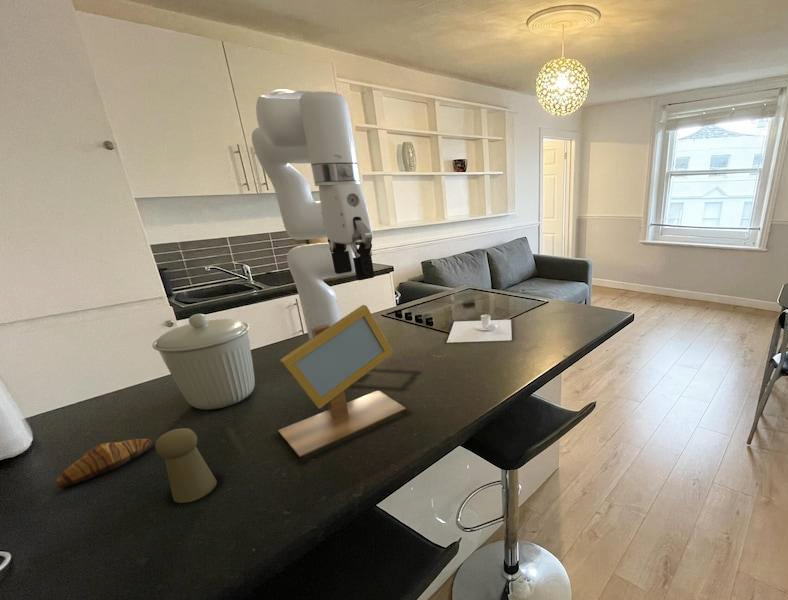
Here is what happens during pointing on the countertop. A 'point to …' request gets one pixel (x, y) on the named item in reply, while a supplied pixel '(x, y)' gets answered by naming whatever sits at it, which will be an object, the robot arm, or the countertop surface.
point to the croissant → (102, 460)
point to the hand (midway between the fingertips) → (354, 275)
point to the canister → (209, 361)
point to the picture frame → (338, 356)
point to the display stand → (338, 418)
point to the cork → (185, 465)
